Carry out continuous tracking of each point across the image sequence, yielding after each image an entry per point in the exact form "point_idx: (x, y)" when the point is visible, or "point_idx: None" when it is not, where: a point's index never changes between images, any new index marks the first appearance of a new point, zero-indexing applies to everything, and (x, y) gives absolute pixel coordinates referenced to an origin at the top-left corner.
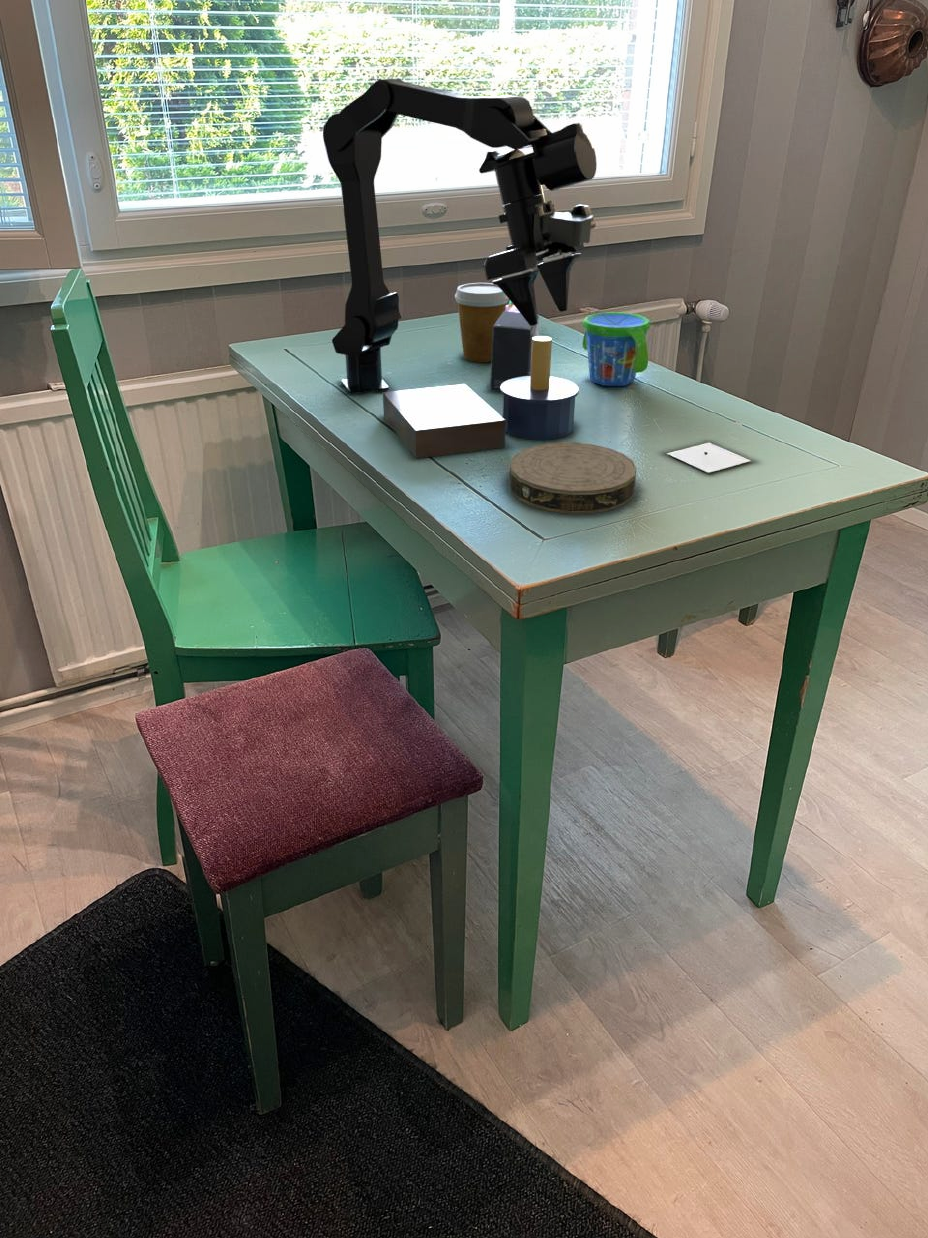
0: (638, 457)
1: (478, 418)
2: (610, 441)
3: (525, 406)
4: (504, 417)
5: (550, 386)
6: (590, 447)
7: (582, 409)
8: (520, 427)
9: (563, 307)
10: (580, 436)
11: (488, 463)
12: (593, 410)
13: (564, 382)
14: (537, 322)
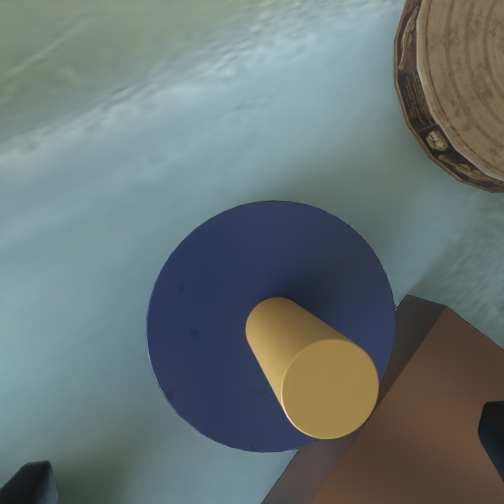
0: (290, 6)
1: (474, 367)
2: (235, 107)
3: None
4: None
5: (248, 304)
6: (441, 57)
7: (58, 280)
8: None
9: (47, 490)
10: (247, 186)
11: (494, 272)
12: (46, 251)
13: (181, 290)
14: (496, 401)
